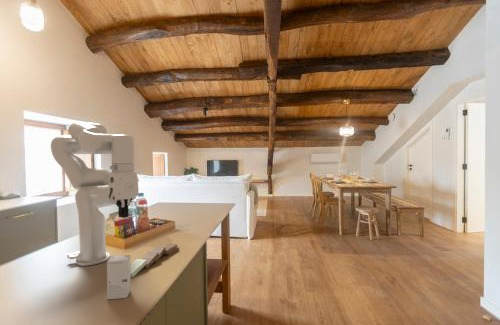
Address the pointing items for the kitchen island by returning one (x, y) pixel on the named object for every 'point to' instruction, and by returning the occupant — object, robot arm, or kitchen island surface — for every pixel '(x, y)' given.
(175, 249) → the tile
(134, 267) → the sage tile
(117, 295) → the skincare box
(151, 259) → the tile
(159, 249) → the tile
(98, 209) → the robot arm
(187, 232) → the kitchen island surface
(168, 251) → the tile
